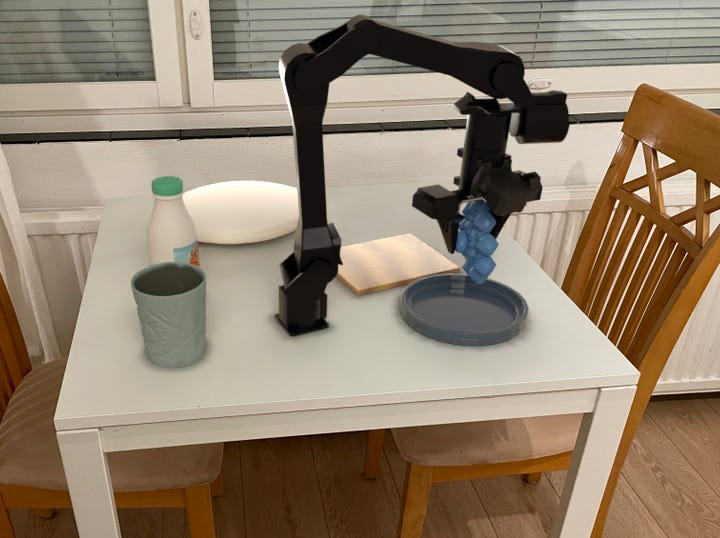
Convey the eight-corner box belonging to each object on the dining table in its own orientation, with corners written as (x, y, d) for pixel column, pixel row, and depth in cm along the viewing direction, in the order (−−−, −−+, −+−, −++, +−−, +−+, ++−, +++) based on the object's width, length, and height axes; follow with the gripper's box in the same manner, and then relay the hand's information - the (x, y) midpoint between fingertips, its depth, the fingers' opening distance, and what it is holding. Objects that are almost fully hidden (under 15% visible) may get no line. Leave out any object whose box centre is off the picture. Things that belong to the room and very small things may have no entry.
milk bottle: (161, 315, 117) (148, 193, 106) (148, 294, 123) (134, 175, 112) (208, 305, 120) (200, 185, 109) (193, 285, 126) (184, 168, 115)
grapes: (434, 261, 119) (442, 188, 112) (475, 259, 119) (486, 186, 113) (455, 296, 109) (465, 219, 103) (500, 293, 110) (513, 216, 103)
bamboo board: (357, 296, 123) (357, 290, 122) (314, 257, 135) (314, 252, 134) (459, 272, 129) (460, 267, 129) (409, 237, 142) (410, 232, 141)
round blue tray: (445, 358, 107) (447, 345, 106) (377, 299, 122) (378, 287, 120) (552, 329, 114) (555, 316, 112) (475, 276, 128) (477, 264, 127)
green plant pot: (213, 333, 113) (208, 261, 106) (209, 371, 104) (203, 295, 98) (145, 334, 113) (136, 262, 106) (135, 372, 104) (125, 296, 98)
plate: (147, 226, 134) (180, 176, 156) (155, 259, 138) (186, 206, 160) (303, 216, 130) (314, 166, 153) (306, 251, 134) (316, 197, 156)
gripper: (463, 172, 94) (448, 284, 102) (579, 152, 100) (556, 259, 109) (415, 147, 102) (405, 252, 111) (525, 130, 109) (507, 230, 117)
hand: (470, 248), depth 112 cm, fingers closed on grapes, 6 cm apart
